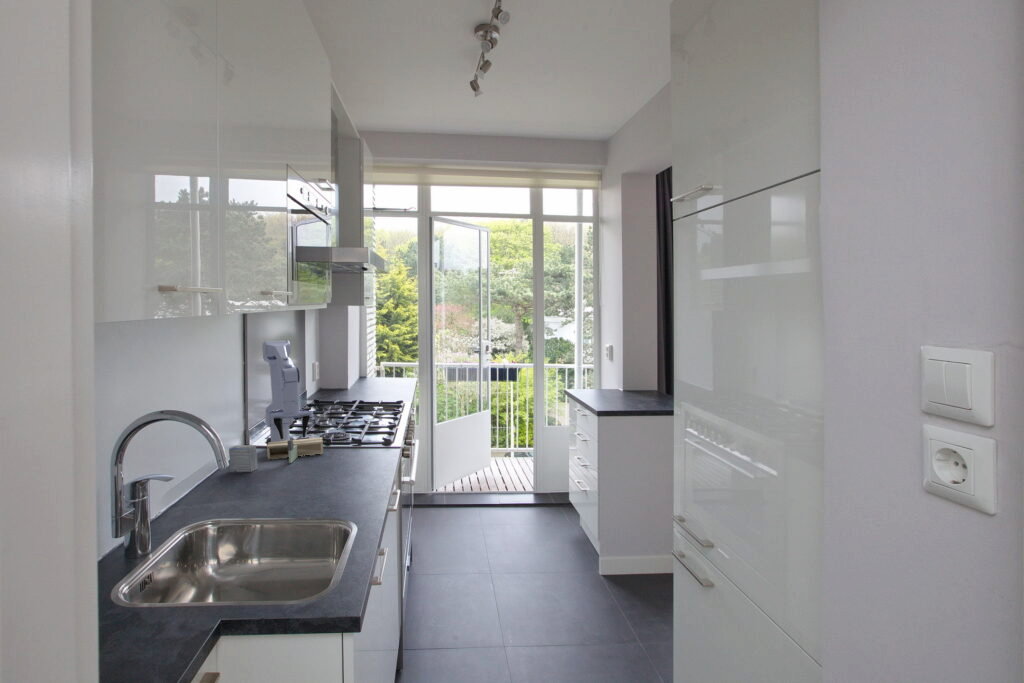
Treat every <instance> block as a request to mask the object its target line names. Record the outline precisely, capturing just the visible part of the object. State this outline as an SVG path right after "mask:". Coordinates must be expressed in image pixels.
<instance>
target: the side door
mask: <svg viewBox="0 0 1024 683" xmlns="http://www.w3.org/2000/svg"><path fill="white" fill-rule="evenodd" d="M293 440H294V439H291V438H290V440H288V441H287V442H288V453H289V458H288V463H289V464H292V463H293V462H295V460H297V458H299V457H298V451H297V445H294V446H293Z"/></svg>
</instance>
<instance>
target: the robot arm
mask: <svg viewBox="0 0 1024 683" xmlns="http://www.w3.org/2000/svg"><path fill="white" fill-rule="evenodd" d="M291 351H292V350H291V342H290V341H289V339H286V340H271V341H266V340H265V341H263V343H262V359H263V361H264V362H266V363H268V365H269V372H270V386H271V387H270V388H271V400H272V401H271V403H270V404H269V405H268V406H266V407H265V416H264V418H265V419H264V420H265V425H266V427H268V428H269V430H270V432H269V433H270V442H278V441H288V440H290V439H291V436H290V435H291V434H290V427H291V425H292V424H293V422H294V419H296V418H301V422H302V423H301V425H302V438H306V433H307V427H308V424H309V422H310V419H311V418H313V416H314V411H313V410H305V411H303V410H301V409H300V408H301V406H300V390H299V388H300V387H299V383H300V382H301V380H300V379H301V373H300V369H299V367H298V366H295V364H294V362H293V359H292V358H291V357H290V355H291Z"/></svg>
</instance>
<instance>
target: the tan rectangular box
mask: <svg viewBox="0 0 1024 683" xmlns="http://www.w3.org/2000/svg"><path fill="white" fill-rule="evenodd" d="M323 441H324V440H323V437H310V438H300V439H299V438H298V439H293V446H294V445H297V451H298V456H301V457H306V456H305V455H310V456H316V455H315V454H320V455H324V443H323ZM266 452H267V453H266V454H267V455H266V456H267V460H268V461H270V459H272V460H279V458H282V459H288V458H287V457H289V453H288V442H287V441H278V442H271V441H270V442H269V441H268V442H267V445H266ZM303 455H304V456H303Z"/></svg>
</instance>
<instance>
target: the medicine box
mask: <svg viewBox="0 0 1024 683" xmlns="http://www.w3.org/2000/svg"><path fill="white" fill-rule="evenodd" d="M228 455H229V456H228V457H229V470H230V473H253V472H255V471H257V470H258V467H259V466H258V457H257V456H258V454H257V445H252V444H251V445H250V444H249V445H245V444H243V445H233V446H232V447H231V446H230V448H228ZM254 470H255V471H254ZM235 471H236V472H235ZM252 471H253V472H252Z"/></svg>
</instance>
